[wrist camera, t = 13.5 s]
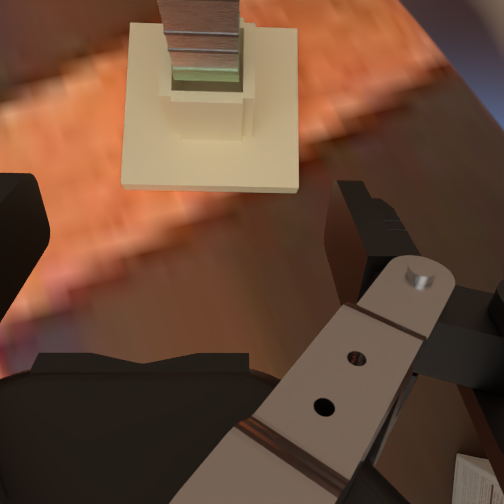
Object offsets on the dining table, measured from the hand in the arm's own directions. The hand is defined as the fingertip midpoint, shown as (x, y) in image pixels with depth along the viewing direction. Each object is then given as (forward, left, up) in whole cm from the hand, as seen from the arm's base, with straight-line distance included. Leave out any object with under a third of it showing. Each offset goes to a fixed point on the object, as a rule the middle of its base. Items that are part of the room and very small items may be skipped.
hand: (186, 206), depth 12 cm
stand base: (-3, +14, -23) cm, 27 cm away
